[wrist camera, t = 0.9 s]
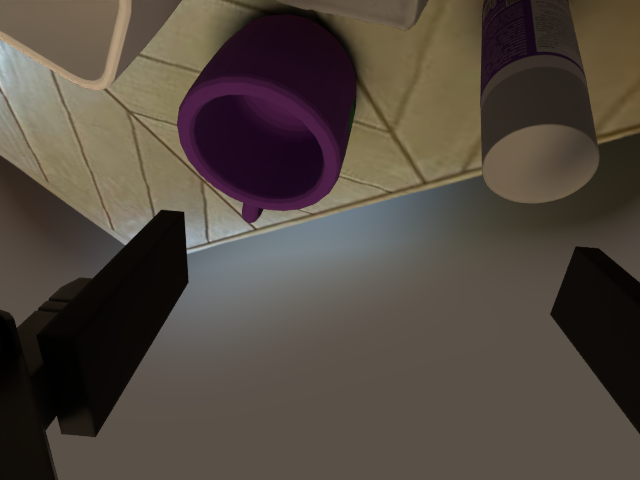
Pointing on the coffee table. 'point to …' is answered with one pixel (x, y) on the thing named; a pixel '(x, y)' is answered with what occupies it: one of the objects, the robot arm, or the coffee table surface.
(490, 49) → the container
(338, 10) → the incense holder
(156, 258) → the robot arm
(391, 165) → the coffee table surface
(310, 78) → the mug
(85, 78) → the cup
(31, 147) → the coffee table surface
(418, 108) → the coffee table surface
